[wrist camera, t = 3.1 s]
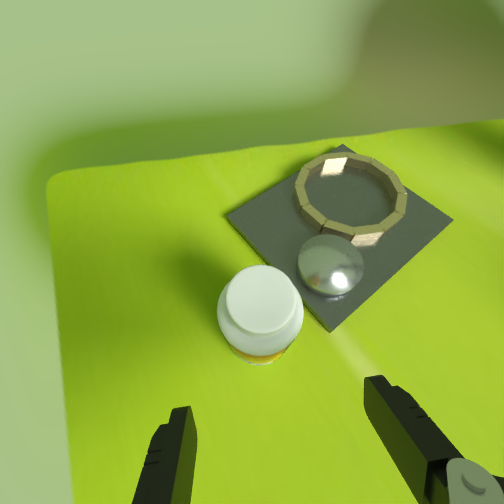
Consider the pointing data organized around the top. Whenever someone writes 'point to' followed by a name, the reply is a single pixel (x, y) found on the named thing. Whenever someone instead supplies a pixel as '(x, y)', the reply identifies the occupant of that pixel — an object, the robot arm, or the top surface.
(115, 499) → the top surface
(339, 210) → the carrier plate
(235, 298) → the supplement bottle
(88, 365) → the top surface
